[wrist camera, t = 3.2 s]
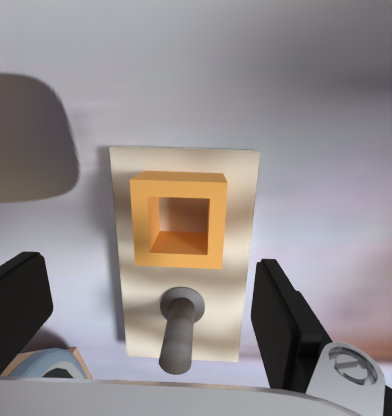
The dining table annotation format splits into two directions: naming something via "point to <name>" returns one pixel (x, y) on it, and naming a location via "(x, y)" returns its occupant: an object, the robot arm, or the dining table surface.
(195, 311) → the peg board
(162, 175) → the orange square frame
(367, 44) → the dining table surface
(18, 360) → the alarm clock
